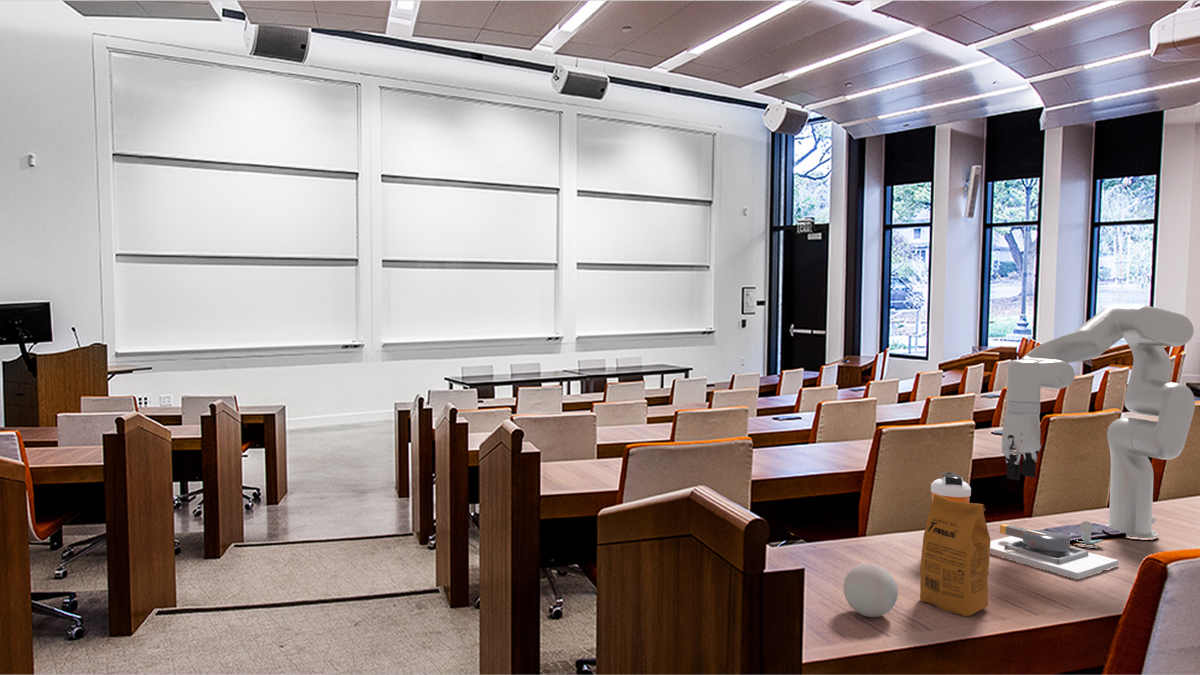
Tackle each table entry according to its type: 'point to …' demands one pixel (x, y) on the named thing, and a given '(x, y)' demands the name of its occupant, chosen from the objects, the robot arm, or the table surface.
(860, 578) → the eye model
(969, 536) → the coffee package
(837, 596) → the table surface
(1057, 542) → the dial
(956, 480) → the shaker bottle
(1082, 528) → the pacifier
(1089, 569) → the panel
